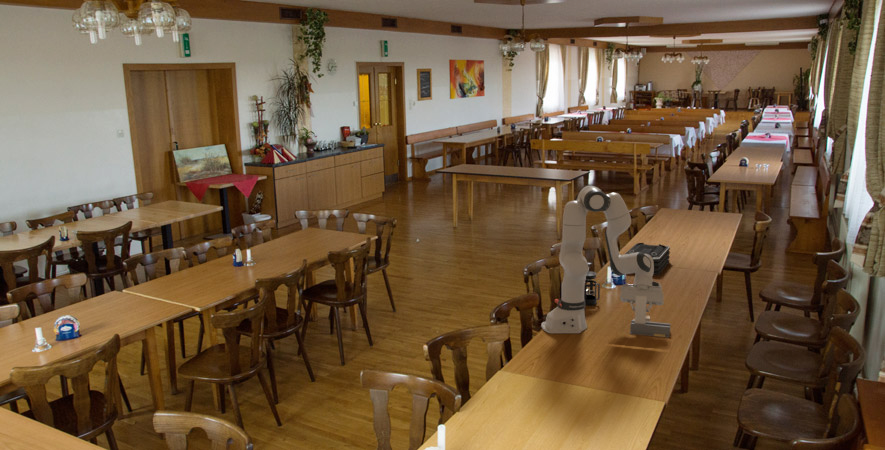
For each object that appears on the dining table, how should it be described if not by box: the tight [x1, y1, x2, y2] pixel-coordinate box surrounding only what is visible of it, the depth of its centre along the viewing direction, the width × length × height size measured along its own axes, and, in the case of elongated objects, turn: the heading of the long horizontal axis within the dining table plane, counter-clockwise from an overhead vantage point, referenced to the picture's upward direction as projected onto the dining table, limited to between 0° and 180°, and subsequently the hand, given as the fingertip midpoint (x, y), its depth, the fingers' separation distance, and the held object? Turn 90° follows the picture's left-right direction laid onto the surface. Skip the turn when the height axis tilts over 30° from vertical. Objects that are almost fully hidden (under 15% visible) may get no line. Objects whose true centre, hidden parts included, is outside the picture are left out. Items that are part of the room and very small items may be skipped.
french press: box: [584, 261, 601, 307], centre depth 364 cm, size 12×9×23 cm
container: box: [623, 242, 671, 276], centre depth 430 cm, size 22×35×13 cm, turn 150°
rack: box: [629, 319, 671, 338], centre depth 322 cm, size 18×14×5 cm
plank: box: [634, 295, 648, 324], centre depth 321 cm, size 5×2×16 cm, turn 70°
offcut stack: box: [632, 315, 651, 322], centre depth 327 cm, size 8×5×5 cm, turn 70°
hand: (640, 310), depth 320 cm, fingers closed on plank, 5 cm apart
